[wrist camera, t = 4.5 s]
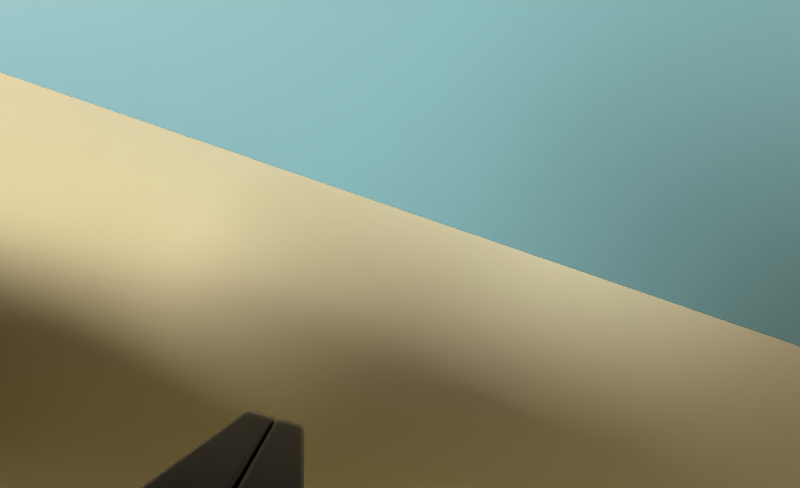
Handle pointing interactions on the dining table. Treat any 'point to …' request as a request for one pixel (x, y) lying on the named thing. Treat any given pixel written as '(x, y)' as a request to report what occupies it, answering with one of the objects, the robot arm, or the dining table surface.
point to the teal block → (487, 119)
